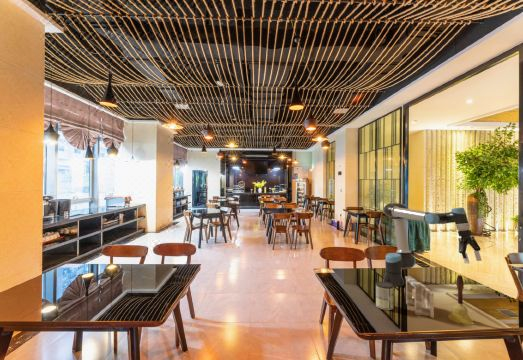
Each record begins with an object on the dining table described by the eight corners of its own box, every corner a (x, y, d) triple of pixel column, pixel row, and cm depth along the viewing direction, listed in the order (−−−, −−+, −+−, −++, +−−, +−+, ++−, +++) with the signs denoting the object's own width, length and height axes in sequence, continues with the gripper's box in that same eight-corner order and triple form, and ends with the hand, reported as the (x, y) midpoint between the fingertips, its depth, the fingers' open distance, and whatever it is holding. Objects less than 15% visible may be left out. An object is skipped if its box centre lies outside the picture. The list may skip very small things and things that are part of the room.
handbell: (477, 321, 154) (477, 276, 156) (468, 326, 148) (467, 280, 149) (453, 313, 165) (452, 271, 166) (443, 317, 158) (443, 274, 159)
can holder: (405, 302, 179) (404, 275, 180) (420, 304, 178) (420, 276, 179) (416, 315, 160) (415, 285, 161) (433, 317, 158) (433, 287, 159)
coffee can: (375, 302, 179) (375, 280, 180) (392, 304, 176) (392, 282, 176) (376, 308, 169) (376, 285, 170) (394, 311, 166) (394, 287, 167)
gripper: (458, 231, 178) (468, 264, 173) (480, 228, 188) (490, 259, 183) (447, 232, 185) (456, 264, 180) (469, 229, 195) (478, 259, 190)
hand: (473, 262), depth 182 cm, fingers open, 13 cm apart
